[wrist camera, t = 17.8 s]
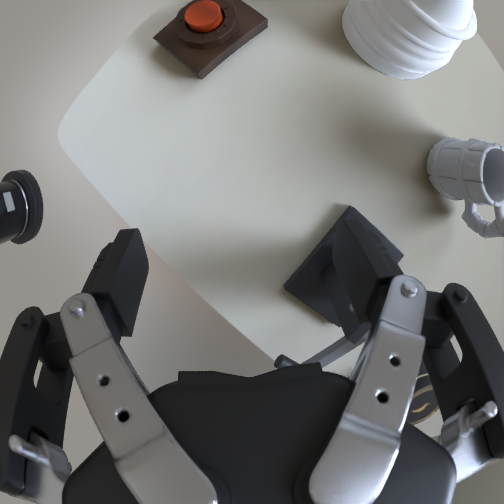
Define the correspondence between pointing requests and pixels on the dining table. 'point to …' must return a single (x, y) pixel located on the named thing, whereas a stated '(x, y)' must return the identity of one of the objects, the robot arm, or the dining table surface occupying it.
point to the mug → (471, 179)
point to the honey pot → (407, 33)
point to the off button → (203, 16)
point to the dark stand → (332, 282)
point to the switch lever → (324, 353)
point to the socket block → (211, 36)
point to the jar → (422, 398)
